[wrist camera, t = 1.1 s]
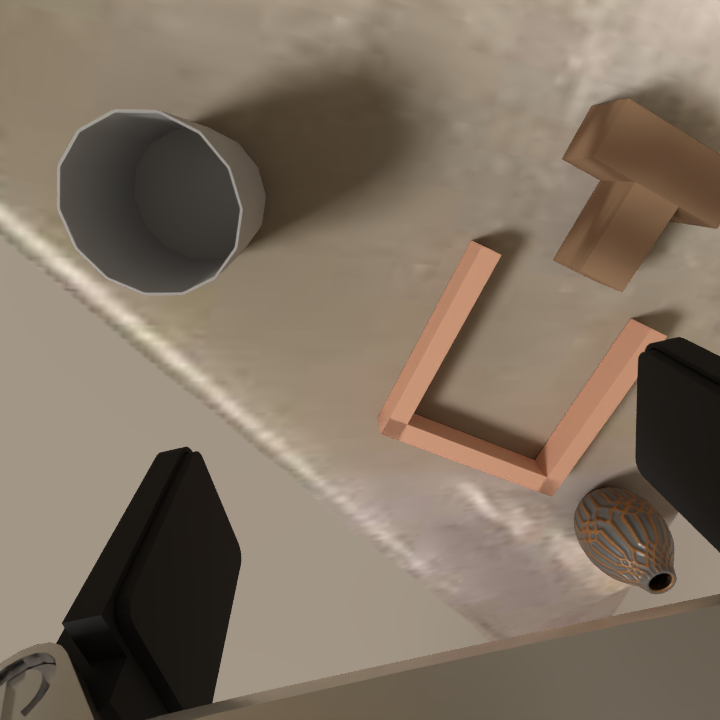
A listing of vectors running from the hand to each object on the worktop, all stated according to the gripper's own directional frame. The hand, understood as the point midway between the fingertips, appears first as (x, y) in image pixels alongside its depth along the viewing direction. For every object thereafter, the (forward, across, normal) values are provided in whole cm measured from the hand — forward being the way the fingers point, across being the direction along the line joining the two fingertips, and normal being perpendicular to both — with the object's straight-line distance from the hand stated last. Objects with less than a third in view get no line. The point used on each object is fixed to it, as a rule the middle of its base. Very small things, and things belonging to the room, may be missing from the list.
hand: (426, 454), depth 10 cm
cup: (+26, +9, -6) cm, 28 cm away
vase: (+25, -17, +28) cm, 41 cm away
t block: (+25, -18, +1) cm, 31 cm away
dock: (+25, -10, +12) cm, 30 cm away
